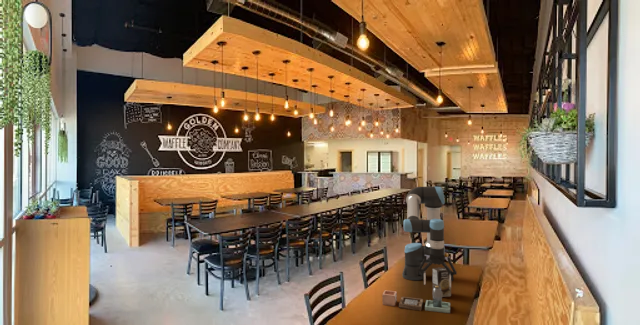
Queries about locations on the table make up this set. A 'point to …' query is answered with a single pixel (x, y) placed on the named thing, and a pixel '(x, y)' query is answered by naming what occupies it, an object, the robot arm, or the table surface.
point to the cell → (437, 297)
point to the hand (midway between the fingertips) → (437, 285)
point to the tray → (430, 307)
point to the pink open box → (389, 297)
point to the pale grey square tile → (411, 302)
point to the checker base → (414, 307)
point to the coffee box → (442, 281)
